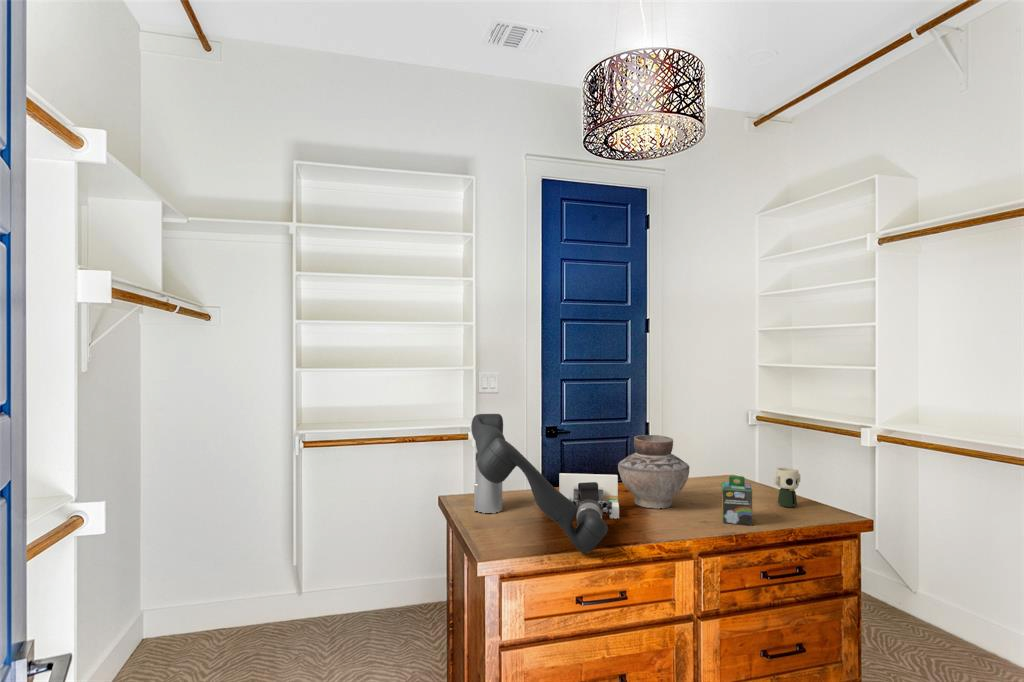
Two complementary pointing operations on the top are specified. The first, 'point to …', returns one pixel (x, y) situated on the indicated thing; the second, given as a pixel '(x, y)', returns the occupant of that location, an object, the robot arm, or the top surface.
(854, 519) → the top surface
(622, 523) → the top surface
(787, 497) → the character mug
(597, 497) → the phone stand
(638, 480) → the ceramic pot
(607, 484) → the panel and block assembly
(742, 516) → the chalk box
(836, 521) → the top surface
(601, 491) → the block and dowel assembly
